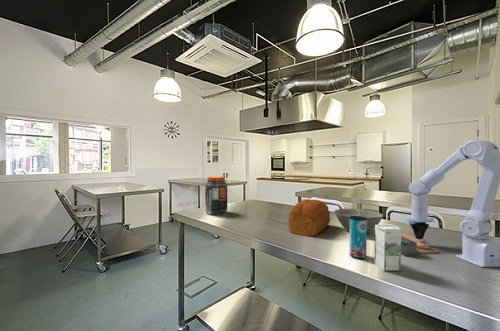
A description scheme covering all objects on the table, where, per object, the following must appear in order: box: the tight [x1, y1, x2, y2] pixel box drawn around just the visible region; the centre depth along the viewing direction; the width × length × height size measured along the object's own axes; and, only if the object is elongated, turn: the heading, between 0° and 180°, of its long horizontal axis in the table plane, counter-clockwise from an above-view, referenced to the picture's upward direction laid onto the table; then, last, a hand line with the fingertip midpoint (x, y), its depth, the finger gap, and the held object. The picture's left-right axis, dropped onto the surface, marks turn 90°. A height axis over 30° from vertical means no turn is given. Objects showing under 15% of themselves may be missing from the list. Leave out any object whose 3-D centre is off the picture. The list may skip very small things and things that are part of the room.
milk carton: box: [374, 223, 402, 272], centre depth 80 cm, size 6×6×14 cm
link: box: [401, 233, 430, 249], centre depth 101 cm, size 14×4×3 cm, turn 4°
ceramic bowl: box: [333, 208, 384, 233], centre depth 122 cm, size 22×23×10 cm
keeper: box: [401, 237, 418, 257], centre depth 94 cm, size 8×5×5 cm, turn 4°
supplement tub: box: [204, 176, 228, 216], centre depth 167 cm, size 16×16×26 cm
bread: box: [287, 198, 331, 237], centre depth 127 cm, size 16×27×16 cm, turn 145°
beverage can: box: [349, 216, 368, 260], centre depth 90 cm, size 6×6×15 cm
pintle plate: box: [417, 246, 439, 255], centre depth 96 cm, size 7×7×1 cm
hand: (419, 239), depth 102 cm, fingers closed
